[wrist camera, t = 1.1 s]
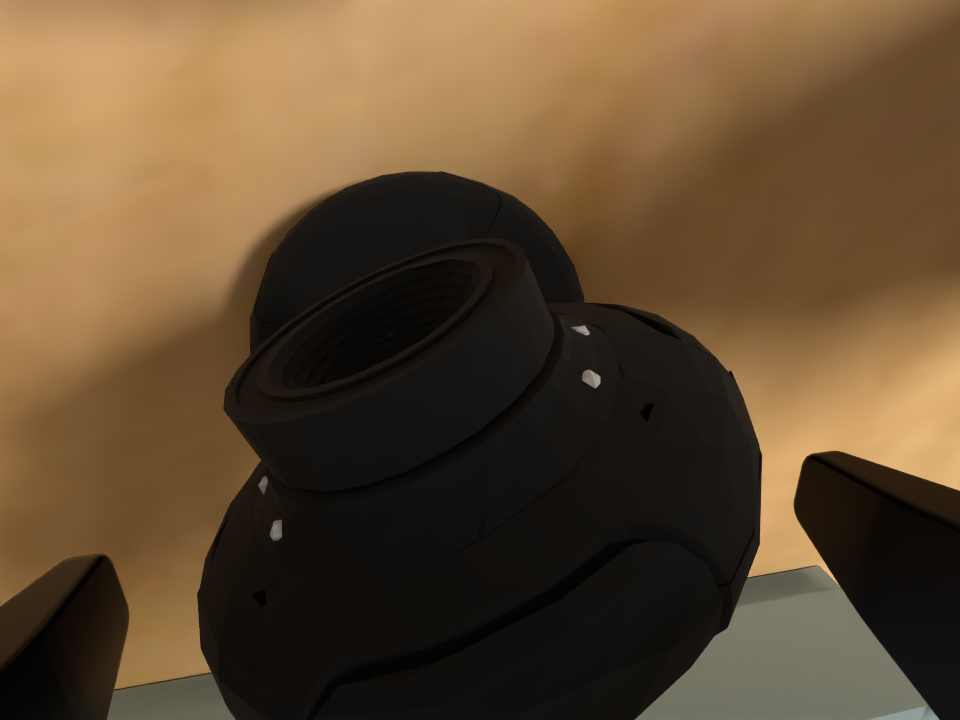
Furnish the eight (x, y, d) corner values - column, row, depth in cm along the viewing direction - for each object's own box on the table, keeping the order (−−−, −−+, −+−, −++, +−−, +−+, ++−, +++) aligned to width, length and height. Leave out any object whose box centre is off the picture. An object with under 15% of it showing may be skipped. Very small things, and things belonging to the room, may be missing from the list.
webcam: (512, 103, 12) (920, 122, 4) (616, 385, 16) (963, 767, 7) (177, 265, 12) (-270, 697, 4) (350, 514, 16) (349, 1063, 7)
